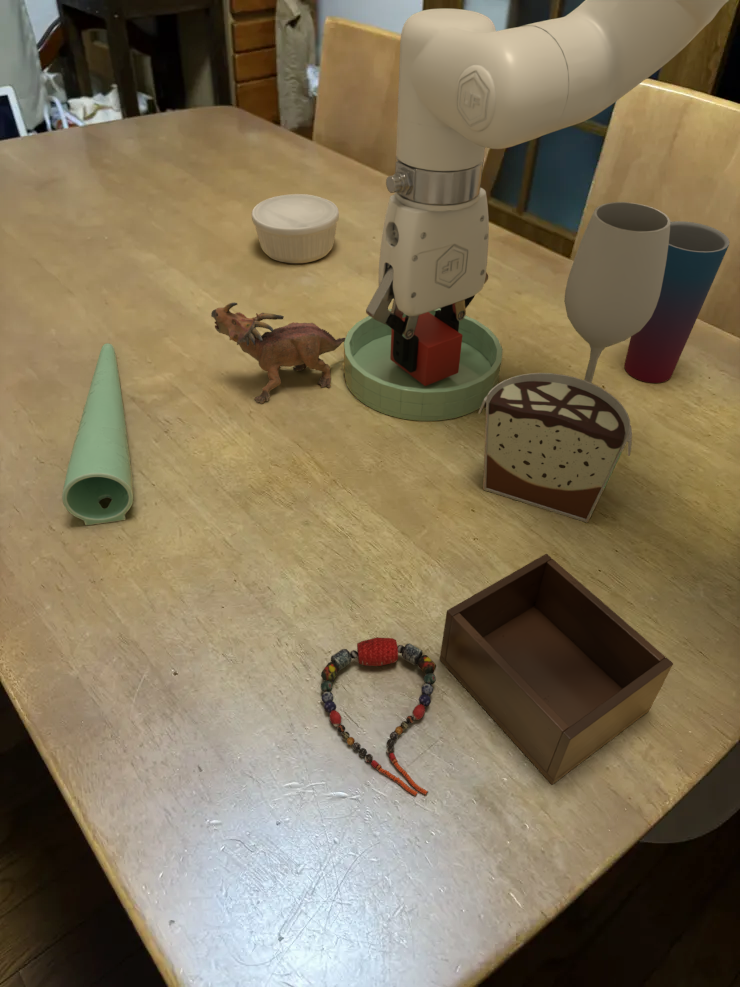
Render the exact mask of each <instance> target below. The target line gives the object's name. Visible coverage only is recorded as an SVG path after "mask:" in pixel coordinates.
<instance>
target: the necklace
mask: <svg viewBox="0 0 740 987" xmlns="http://www.w3.org/2000/svg"><path fill="white" fill-rule="evenodd" d="M399 654H401V657H402V659H403V660H404V661H406V662H408V663H410V664H412V665H413V666H417V667H418V668H419V669H420V670H421V671H422V672H423V674H424V677H423V681H424V684H423V685H421V687H420V689H421V695H420V696H419V698H418V702H419V704H417V705H416V706H414V708H413V710H412V712H411V715H408V716H406V718H405V720H403V721H402V722H401V723H400V725H398V726H396V727H395V729H394V731H392V732H390V734H389V739H387V741H386V746H387V748H386V750H385V751H386V753H387V755H388V757H389V760H390V762H391V764H392V765H393V766H394V767H395V768H396V769H397V771H399V773H401V774H402V775H403V776H404V778H405V780H407V782H408V783H409V784H410V785H411V786H412V787H413V788H414V789H413V788H411V787H410V786H409V785H407V783H405V782H404V781H403V780H401V778H400V777H399V776H396V775H394V774H392V773H391V772H390V770H387V769H384V768H383V767H382V765H381V764H380V763H379V762H378V761H376V760H375V759H374V756H373V755H372V754H371V753H368V751H367V749H366V748H364V747H362V745H361V743H360V742H358V741H357V742H356V740H355V738H354V737H353V736H350V733H349V731H346V727H345V725H344V724H342V716H341V714H340V712H339V711H337V710H336V709H337V704H336V703H335V701H334V695H333V693H332V690H333V682H334V681H335V679H336V678H337V676H338V675H339V673H340V671H341V670H342V669H344V668H346V667H347V666H349V665H350V664H351V663H352V661H353V660H356V659H357V661H358V664H359V665H361V666H369V667H371V666H373V667H382V666H385V665H390V664H394V663H396V662H397V661H398V660H399ZM436 669H437V664H436V663H435V662H434V660H432V659H431V658H430V656H429V655H428V654H424V652H423V650H422V649H420V648H419V647H417V646H415V645H413V644H412V643H406V644H405V645H403V644H398V643H397V640H396V639H395V638H394V637H374V638H373V637H372V638H370V639H364V640H362V641H359V642H358V643H356V650H354V649H353V650H351V651H349V650H348V649H347V648H342V649H340V650H339V651H337V652H336V653H334V654H333V655H331V656H330V661H329V662H328V663H327V664H326V666H325V667H324V668H323V669H322V671H321V673H320V677H321V679H322V680H323V681H322V683H321V684H320V690H321V691H322V692H323V693H322V694H321V697H320V698H321V702H322V703H324V705H323V709H324V711H325V712H326V713H329V722H330V723H331V725H332V726H333V727H336V728H337V729H336V731H337V732H338V733H340V734H341V738H342V739H343V740H346V743H347V745H348V746H352V749H353V750H354V751H357V752H358V755H359V756H360V757H362V758H363V757H364V760H365V762H366V763H369V764H370V765H371V766H372V767H373V768H374V769H375V770H377V771H378V772H379V773H381V774H384V775H385V776H387V777H388V778H389V779H391V780H392V781H393V782H396V784H398V785H399V786H401V787H402V788H403V790H405V791H406V792H407V793H409V794H411V795H413V796H415V797H416V796H417V795H418V794H419V792H420V793H422V794H423V795H426V796H427V794H429V791H428V790H426V789H425V788H424V787H421V786H420V785H418V783H417V782H416V781H414V780H413V778H412V777H411V776H410V774H408V771H406V770H405V769H404V768H403V767H402V766H401V765H400V764H399V762H398V760H397V757H396V755H395V748H394V746H395V743H396V742H395V741H396V740H397V739H398V737H399V735H401V734H403V732H404V730H407V729H409V725H411V724H413V723H414V721H415V720H416V721H418V720H421V719H422V718H423V717H424V715H425V714H426V707H429V706H430V704H431V701H432V699H431V697H430V696H431V695H432V694H433V693H434V687H433V685H434V684H435V683H436V680H437V678H436V676H435V674H434V672H435V671H436Z"/></svg>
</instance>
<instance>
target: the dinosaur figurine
mask: <svg viewBox="0 0 740 987" xmlns="http://www.w3.org/2000/svg"><path fill="white" fill-rule="evenodd" d="M235 306H238V302H230V303H228V304H226V305H225V306H224V307H217V308H215V309H213V310H212V311H211V312H210V313H211V314H210V315H211V318H213V319H214V320H215V321H214V324H215V325H214V328H215V330H216V332H218V333H219V334H222V335H224V336H228V338H229V339H228V340H229V341H233V342H234V343H236V346H239V348H240V349H241V351H242V352H243V353H246V354H247V355H249V356H250V357H252V359H254V360H256V361H257V362H258V366H259V367H260V368H261V370H262V371H264V372H267V378H268V381H267V384H266V385H265V386H263V387H262V388H261V393H260V394H259V395H258V396H255V397H254V400H255V401H256V403H260V404H264V403H265V402H268V401H269V400H270V398H271V395H270V392H271V390H274V389H275V388H277V387H279V386H281V384H282V380H281V378H280V373H279V370H281V367H285V368H289V367H293V371H295V372H296V371H298V372H301V371H303V370H304V371H305V370H306V369H307V368H308V369H310V370H315V371H317V372H321V376H320V378H319V379H318V381H317V385H320V387H321V388H325V387H327V388H330V387H331V386H332V385H331V384H332V378H331V366H330V365H329V364H328V363H325V361H324V360H323V359H321V358H320V356H321V355H324V354H327V353H330V352H334V351H336V350H337V349H338V348H339V347H340V346H341V345H342V343H344V341H345V338H346V337H339V338H337V339H336V338H335V336H333V335H332V334H331V333H330V331H327V330H326V329H324V328H321V327H319V326H318V325H316V324H315V323H314V322H290V323H288V324H287V325H284V326H280V327H276V328H273V327H272V326H271V325H269V324H268V323H266V322H264V320H275V321H276V320H284V317H285V315H281V314H275V313H269V312H268V313H267V312H261V313H259V314H258V313H255V316H253V317H247V316H246V315H245V314H243V313H241V312H240V311H239V312H231V309H232V308H234V307H235ZM257 328H263V329H266V330H269V331H265V332H264V333H263V334H262V335H261V333H260V332H259V330H258V329H257Z"/></svg>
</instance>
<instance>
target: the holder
mask: <svg viewBox="0 0 740 987" xmlns="http://www.w3.org/2000/svg"><path fill="white" fill-rule="evenodd" d="M443 626H444V627H443V634H442V640H441V647H440V653H439V654H440V655H439V660H440V662H441V663H442V664H443V665H444V666H445V667H446V668H447V670H448V671H449V672H450V673H451V674H452V675H453V676H454V677H455V678H456V680H457V681H458V682H459V683H460V684H461V685H462V686H463V687H464V688H465V689H466V691H467V692H468V693H469V694H470V695H471V696H472V698H474V700H475V701H476V702H477V703H478V704H479V705H480V706H481V707H482V709H483V710H484V711H485V712H486V713H487V715H489V717H490V718H491V719H492V720H493V721H494V722H495V723H496V724H497V725H498V726H499V727H500V729H501V730H502V731H503V732H504V733H505V734H506V736H508V738H509V739H510V740H511V742H513V743H514V745H516V746H517V748H519V750H520V751H521V752H522V753H523V754H524V755H525V757H526V758H527V759H528V760H529V761H530V762H531V763H532V764H533V766H534V767H535V768H536V769H537V770H538V771H539V772H540V773H541V774H542V775H543V777H544V778H545V779H546V780H547V781H548V782H549V783H550V784H551V785H554V784H555V783H557V782H558V781H559V780H560V779H562V778H563V777H564V776H566V775H567V774H569V772H571V771H572V770H574V769H575V768H576V767H578V766H579V765H580V764H582V763H583V762H584V761H585V760H587V759H588V758H589V757H591V756H592V755H593V754H595V753H596V752H597V751H598V750H600V749H601V748H603V747H604V746H606V745H607V744H608V743H609V742H611V741H612V740H613V739H614V738H616V737H617V736H618V735H619V734H621V733H622V732H623V731H625V730H626V729H627V728H629V727H630V726H632V725H633V724H634V723H635V722H637V721H638V720H640V718H642V717H643V716H644V715H646V714H647V713H649V712H650V709H651V708H652V707H653V704H654V702H655V700H656V699H657V696H658V695H659V693H660V691H661V689H662V687H663V685H664V683H665V681H666V680H667V678H668V675H669V674H670V672H671V670H672V667H673V666H674V662H672V661H671V660H670V659H669V658H668V657H667V656H666V655H665V654H663V653H662V652H661V651H659V649H658V648H656V647H655V646H654V645H653V644H652V643H651V642H650V641H648V640H647V639H646V638H645V637H644V636H642V635H641V634H640V633H639V632H638V631H637V630H636V629H634V628H633V627H632V626H631V625H630V624H629V623H627V622H626V621H625V620H624V619H623V618H622V617H620V616H619V615H618V613H616V612H615V611H613V609H611V608H610V607H609V606H608V605H607V604H605V603H604V602H603V600H601V599H600V598H598V597H597V595H595V594H594V593H593V592H592V591H590V590H589V589H588V588H587V587H586V586H585V585H584V584H582V583H581V582H580V581H579V580H578V579H577V578H575V576H573V575H572V574H571V573H570V572H568V571H567V570H566V569H565V568H564V567H562V565H561V564H560V563H559V562H557V561H556V560H555V559H553V557H551V556H550V554H548V553H545V554H543V555H540V556H539V557H538V558H536V559H534V560H532V561H531V562H529V563H527V564H526V565H524V566H522V567H520V568H519V569H517V570H515V571H513V572H511V573H510V574H507V575H506V576H505V577H502V578H501V579H499V580H497V581H496V582H494V583H492V584H491V585H489V586H487V587H485V588H483V589H482V590H479V591H478V592H477V593H475V594H473V595H472V596H469V597H468V598H466V599H464V600H463V601H461V602H459V603H457V604H456V605H454V606H452V607H450V608H449V609H447V610H446V614H445V620H444V625H443Z"/></svg>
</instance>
